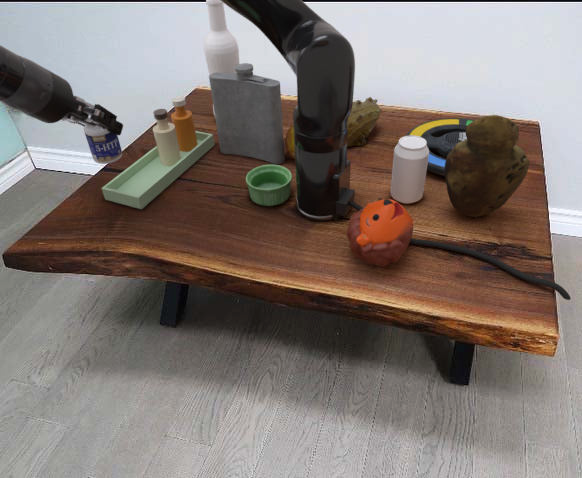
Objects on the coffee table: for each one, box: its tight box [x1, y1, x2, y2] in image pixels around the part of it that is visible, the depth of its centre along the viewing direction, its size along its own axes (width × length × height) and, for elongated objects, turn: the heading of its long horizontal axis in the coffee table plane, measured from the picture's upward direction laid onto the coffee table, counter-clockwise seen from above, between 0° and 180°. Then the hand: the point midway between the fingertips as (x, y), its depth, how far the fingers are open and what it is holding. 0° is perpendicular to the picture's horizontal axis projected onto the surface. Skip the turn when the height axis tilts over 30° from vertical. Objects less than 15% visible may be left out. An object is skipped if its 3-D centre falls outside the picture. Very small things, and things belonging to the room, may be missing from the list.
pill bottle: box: [83, 115, 123, 165], centre depth 90 cm, size 5×5×9 cm
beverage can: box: [389, 135, 430, 205], centre depth 94 cm, size 6×6×12 cm
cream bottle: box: [152, 108, 182, 166], centre depth 107 cm, size 5×5×12 cm
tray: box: [101, 130, 216, 210], centre depth 109 cm, size 9×27×3 cm, turn 155°
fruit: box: [284, 124, 295, 160], centre depth 108 cm, size 10×9×8 cm
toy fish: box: [346, 198, 415, 267], centre depth 82 cm, size 12×10×11 cm
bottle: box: [203, 0, 240, 117], centre depth 118 cm, size 8×8×30 cm
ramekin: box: [245, 164, 293, 207], centre depth 99 cm, size 9×9×4 cm
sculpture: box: [444, 114, 530, 218], centre depth 86 cm, size 13×8×20 cm, turn 70°
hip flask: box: [208, 62, 286, 165], centre depth 107 cm, size 16×4×20 cm, turn 66°
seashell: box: [347, 96, 383, 148], centre depth 115 cm, size 11×15×10 cm
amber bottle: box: [170, 95, 198, 152], centre depth 112 cm, size 5×5×12 cm
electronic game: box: [405, 117, 517, 177], centre depth 107 cm, size 23×23×5 cm
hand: (107, 127), depth 91 cm, fingers closed on pill bottle, 5 cm apart
